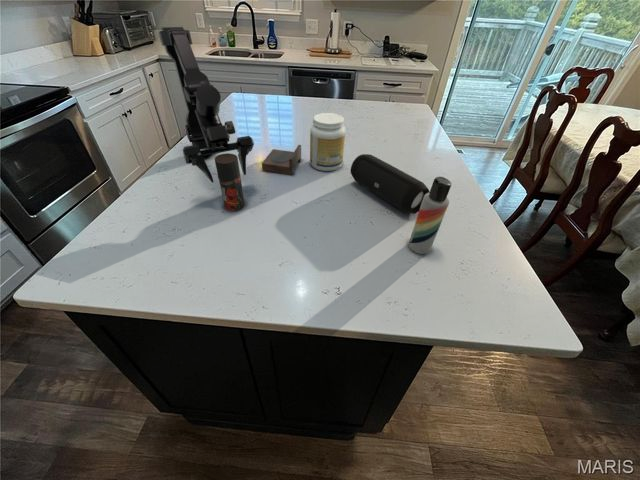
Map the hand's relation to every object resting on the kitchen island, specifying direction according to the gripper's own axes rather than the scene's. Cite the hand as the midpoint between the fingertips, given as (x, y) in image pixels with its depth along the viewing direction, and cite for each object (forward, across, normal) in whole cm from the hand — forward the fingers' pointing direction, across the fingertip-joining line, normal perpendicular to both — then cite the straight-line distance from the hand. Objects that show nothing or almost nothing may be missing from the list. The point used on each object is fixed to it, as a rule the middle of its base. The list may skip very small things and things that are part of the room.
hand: (229, 178), depth 83 cm
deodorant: (+7, 0, +6) cm, 9 cm away
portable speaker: (+18, +44, -6) cm, 48 cm away
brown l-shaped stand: (-5, +23, +18) cm, 29 cm away
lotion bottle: (+35, +37, -22) cm, 55 cm away
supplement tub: (-1, +38, +13) cm, 40 cm away
